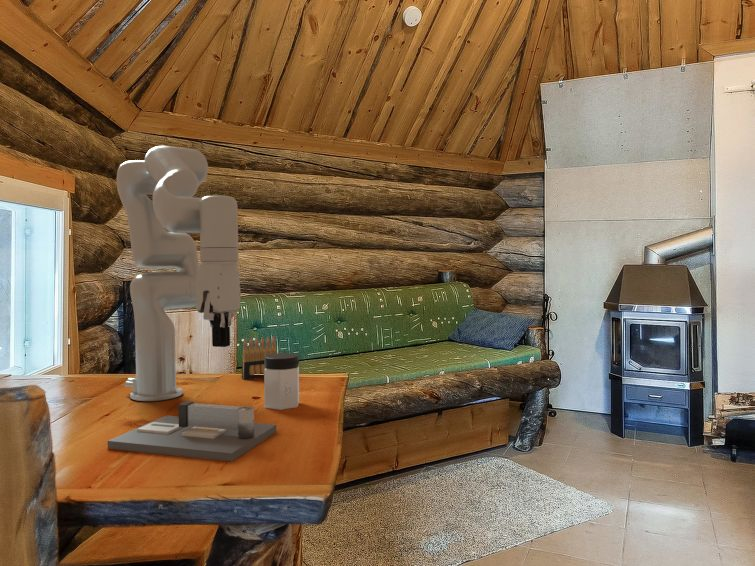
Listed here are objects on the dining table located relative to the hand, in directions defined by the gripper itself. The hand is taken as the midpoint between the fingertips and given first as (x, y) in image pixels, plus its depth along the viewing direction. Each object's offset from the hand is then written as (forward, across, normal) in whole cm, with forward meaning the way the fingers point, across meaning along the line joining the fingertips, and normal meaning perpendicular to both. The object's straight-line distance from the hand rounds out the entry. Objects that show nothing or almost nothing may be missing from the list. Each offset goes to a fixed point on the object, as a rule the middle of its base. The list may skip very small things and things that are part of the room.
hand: (221, 346), depth 123 cm
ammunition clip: (+17, -49, -18) cm, 55 cm away
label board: (+18, +7, -2) cm, 19 cm away
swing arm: (+16, +7, +3) cm, 18 cm away
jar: (+18, -22, +3) cm, 28 cm away
